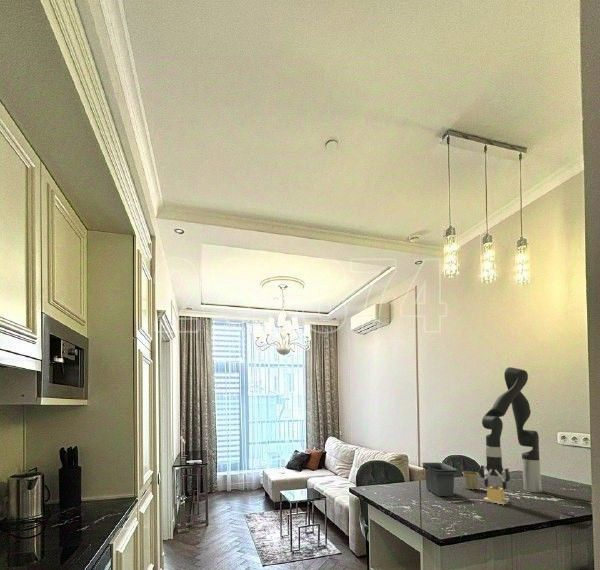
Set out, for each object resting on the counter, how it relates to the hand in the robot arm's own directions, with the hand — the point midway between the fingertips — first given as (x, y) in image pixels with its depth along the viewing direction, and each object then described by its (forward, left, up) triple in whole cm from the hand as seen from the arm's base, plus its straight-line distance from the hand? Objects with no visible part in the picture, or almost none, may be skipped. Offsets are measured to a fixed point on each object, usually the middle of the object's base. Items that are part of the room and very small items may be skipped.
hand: (495, 488), depth 249 cm
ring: (0, 0, -5) cm, 5 cm away
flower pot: (-21, -20, -7) cm, 30 cm away
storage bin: (+3, -30, -7) cm, 31 cm away
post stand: (0, 0, -7) cm, 7 cm away
